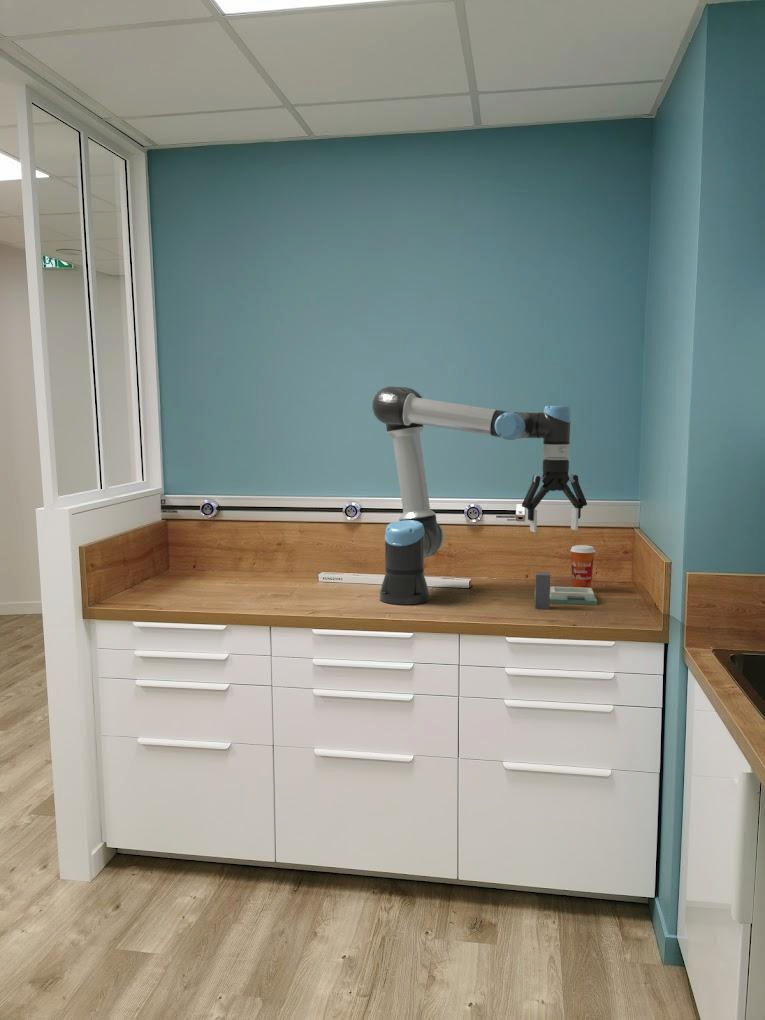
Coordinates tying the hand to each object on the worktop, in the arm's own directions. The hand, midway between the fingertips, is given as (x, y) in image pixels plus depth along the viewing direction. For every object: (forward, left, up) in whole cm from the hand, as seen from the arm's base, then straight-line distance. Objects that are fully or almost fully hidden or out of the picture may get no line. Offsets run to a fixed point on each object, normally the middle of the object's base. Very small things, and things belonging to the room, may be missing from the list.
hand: (553, 530), depth 241 cm
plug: (-3, -7, -22) cm, 23 cm away
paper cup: (+10, +19, -22) cm, 31 cm away
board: (+4, +6, -22) cm, 23 cm away
